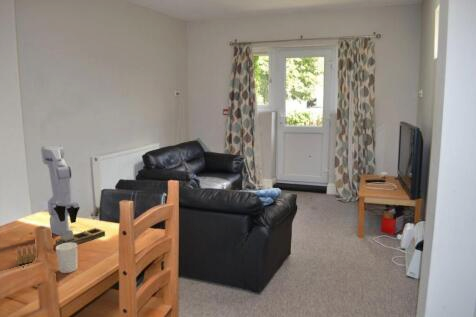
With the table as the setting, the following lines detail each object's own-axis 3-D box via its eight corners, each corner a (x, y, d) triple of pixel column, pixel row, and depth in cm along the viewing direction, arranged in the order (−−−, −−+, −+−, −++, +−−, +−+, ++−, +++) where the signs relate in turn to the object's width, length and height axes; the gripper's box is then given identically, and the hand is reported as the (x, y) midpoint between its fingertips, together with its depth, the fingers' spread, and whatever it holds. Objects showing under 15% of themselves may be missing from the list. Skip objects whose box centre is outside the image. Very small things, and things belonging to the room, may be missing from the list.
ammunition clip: (19, 276, 158) (15, 247, 156) (19, 274, 160) (16, 245, 158) (49, 270, 163) (46, 242, 161) (48, 269, 165) (46, 241, 162)
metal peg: (61, 244, 190) (60, 232, 189) (69, 241, 193) (68, 229, 192) (65, 246, 188) (64, 234, 187) (73, 243, 191) (72, 231, 190)
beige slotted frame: (55, 244, 190) (55, 239, 190) (96, 231, 206) (95, 227, 206) (64, 248, 185) (64, 243, 185) (105, 235, 201) (104, 231, 201)
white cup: (61, 265, 168) (59, 242, 166) (81, 264, 168) (79, 242, 166) (54, 274, 160) (52, 250, 158) (75, 273, 160) (73, 249, 159)
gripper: (47, 193, 186) (50, 222, 188) (67, 195, 179) (70, 225, 180) (60, 191, 192) (63, 219, 194) (81, 192, 185) (84, 221, 186)
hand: (67, 221), depth 187 cm, fingers open, 7 cm apart
